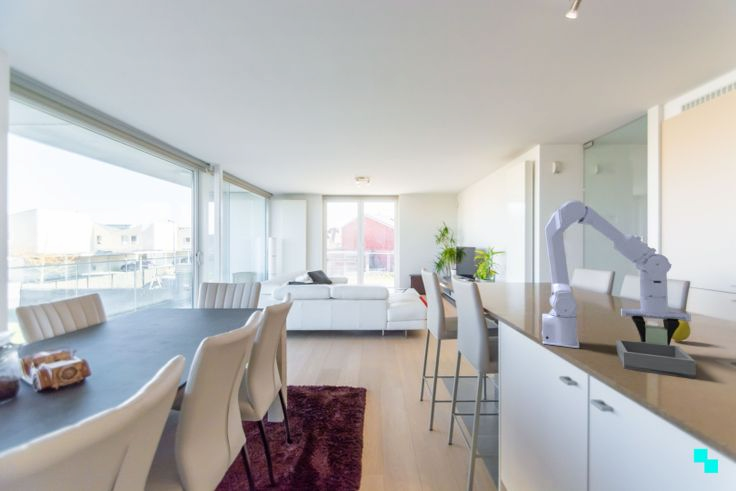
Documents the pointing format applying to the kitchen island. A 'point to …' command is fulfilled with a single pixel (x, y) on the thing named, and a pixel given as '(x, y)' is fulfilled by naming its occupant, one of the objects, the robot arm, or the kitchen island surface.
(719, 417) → the kitchen island surface
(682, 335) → the lemon
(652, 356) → the bin
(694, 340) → the kitchen island surface
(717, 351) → the kitchen island surface
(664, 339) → the block
